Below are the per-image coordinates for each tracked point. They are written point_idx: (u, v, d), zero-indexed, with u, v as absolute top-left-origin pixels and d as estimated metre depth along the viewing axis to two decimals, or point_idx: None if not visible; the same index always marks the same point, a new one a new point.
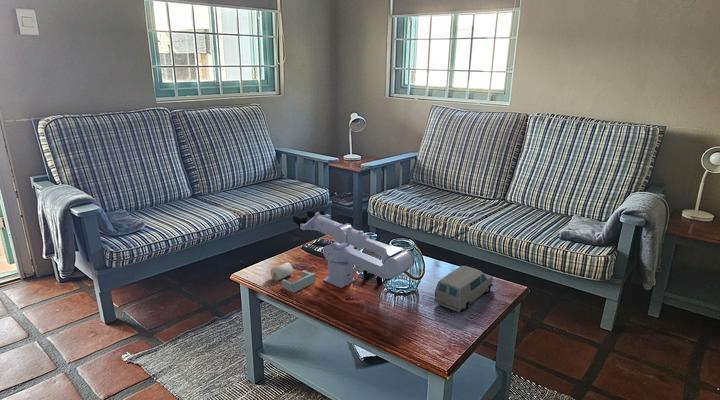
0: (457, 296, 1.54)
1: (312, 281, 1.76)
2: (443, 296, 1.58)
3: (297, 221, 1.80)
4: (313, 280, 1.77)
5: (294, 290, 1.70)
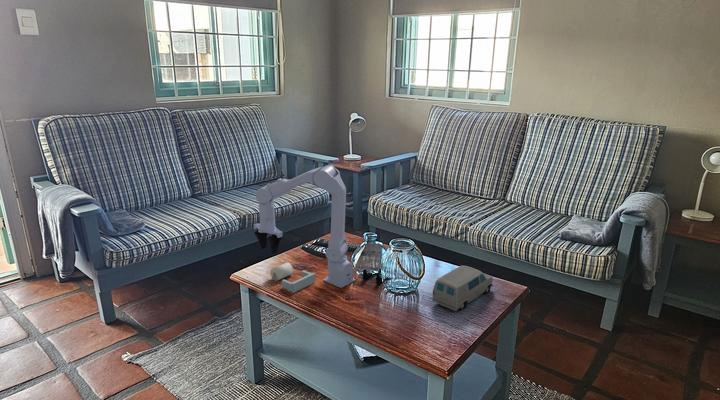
0: (454, 296, 1.55)
1: (312, 281, 1.76)
2: (441, 295, 1.59)
3: (275, 246, 1.80)
4: (313, 280, 1.77)
5: (294, 290, 1.70)
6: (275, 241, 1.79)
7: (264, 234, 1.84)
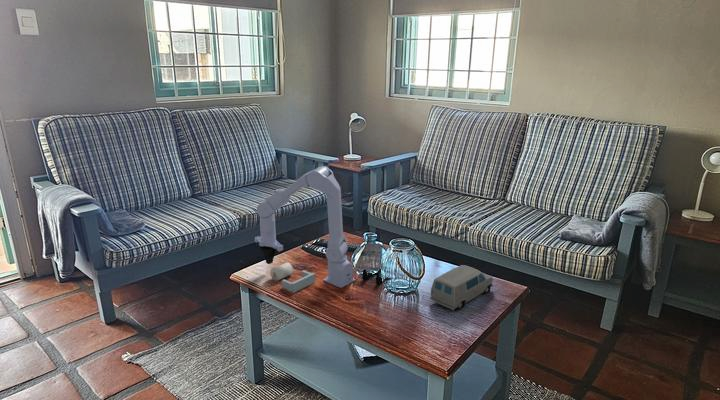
0: (451, 295, 1.56)
1: (312, 281, 1.76)
2: (439, 294, 1.59)
3: (271, 257, 1.83)
4: (313, 280, 1.77)
5: (294, 290, 1.70)
6: (271, 252, 1.83)
7: None
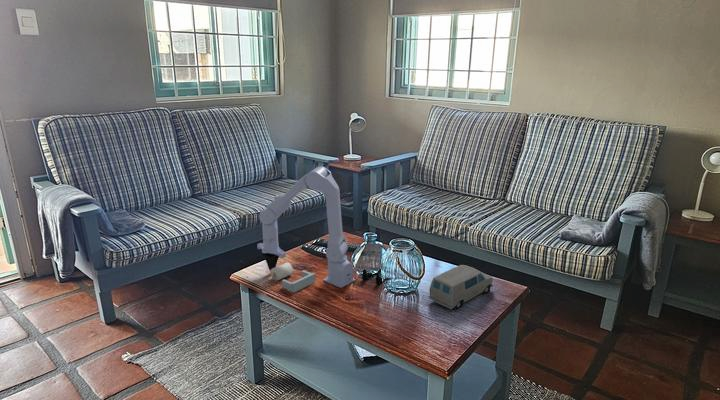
0: (449, 294, 1.56)
1: (312, 281, 1.76)
2: (437, 293, 1.60)
3: (273, 264, 1.83)
4: (313, 280, 1.77)
5: (294, 290, 1.70)
6: (273, 259, 1.83)
7: None
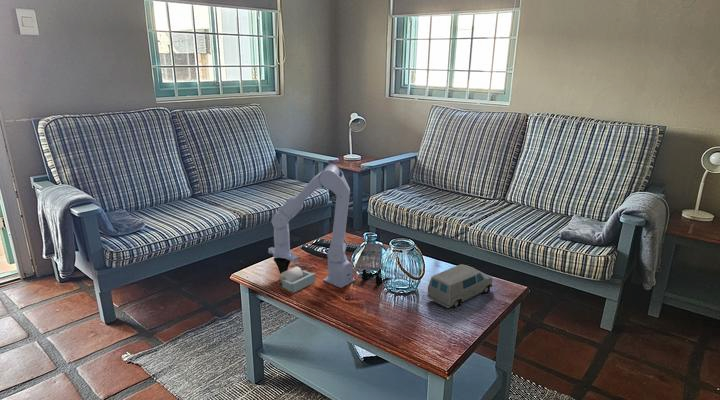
0: (447, 293, 1.57)
1: (312, 281, 1.76)
2: (435, 292, 1.61)
3: (285, 268, 1.79)
4: (313, 280, 1.77)
5: (294, 290, 1.70)
6: (285, 264, 1.79)
7: None
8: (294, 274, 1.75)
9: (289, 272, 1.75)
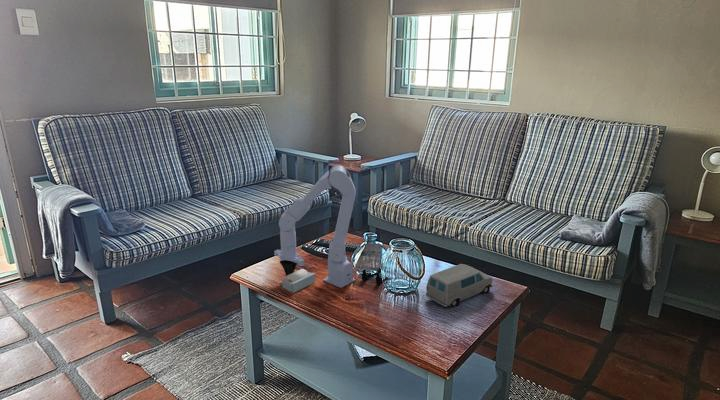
0: (444, 292, 1.57)
1: (312, 281, 1.76)
2: (433, 291, 1.62)
3: (291, 271, 1.77)
4: (313, 280, 1.77)
5: (294, 290, 1.70)
6: (291, 266, 1.77)
7: None
8: None
9: None
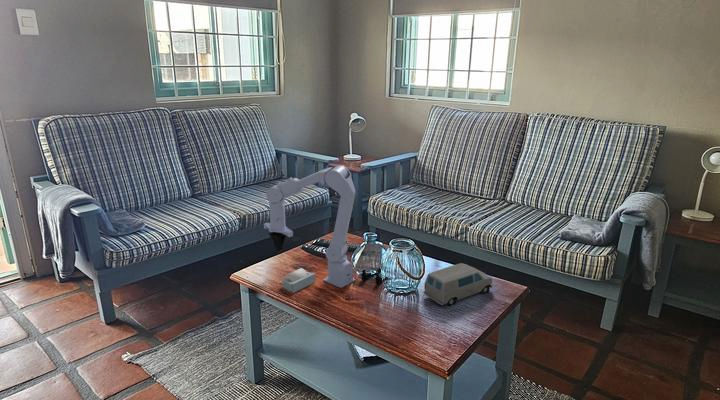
0: (441, 290, 1.59)
1: (312, 281, 1.76)
2: (431, 289, 1.63)
3: (280, 243, 1.81)
4: (313, 280, 1.77)
5: (294, 290, 1.70)
6: (280, 239, 1.80)
7: None
8: None
9: None
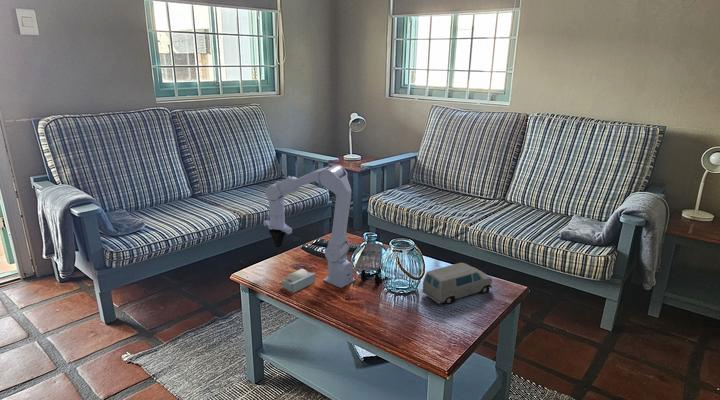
0: (438, 288, 1.60)
1: (312, 281, 1.76)
2: (429, 287, 1.64)
3: (280, 240, 1.84)
4: (313, 280, 1.77)
5: (294, 290, 1.70)
6: (280, 236, 1.83)
7: None
8: None
9: None
